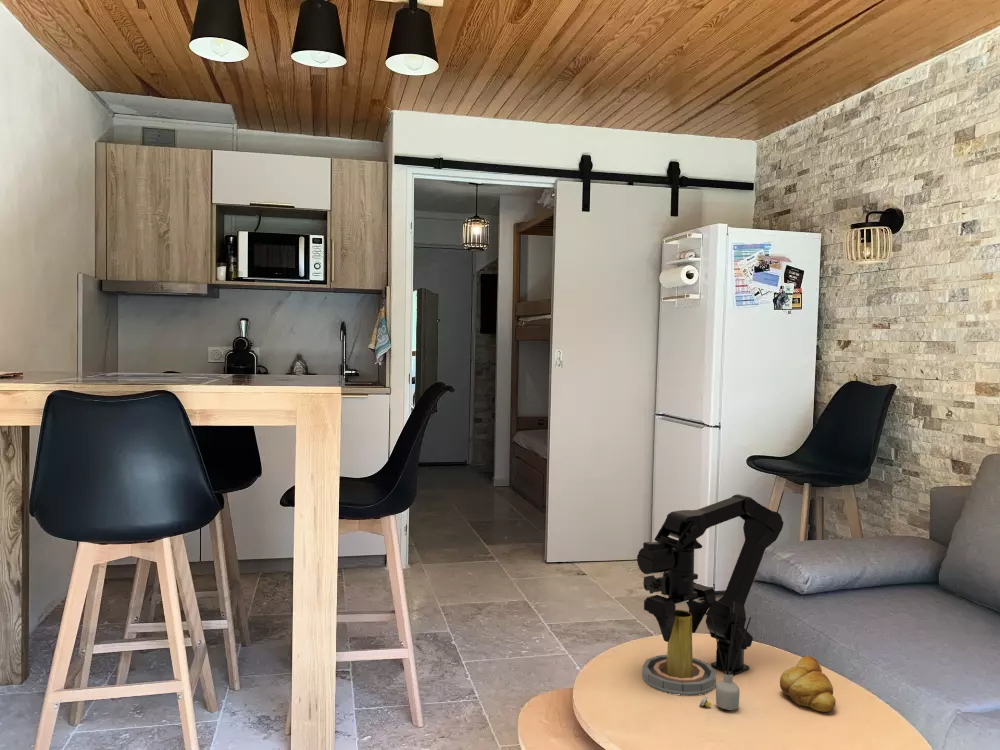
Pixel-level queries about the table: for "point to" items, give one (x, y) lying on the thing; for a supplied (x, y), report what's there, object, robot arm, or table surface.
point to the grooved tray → (679, 685)
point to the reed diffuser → (727, 680)
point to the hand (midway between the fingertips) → (679, 636)
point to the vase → (680, 647)
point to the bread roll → (808, 685)
